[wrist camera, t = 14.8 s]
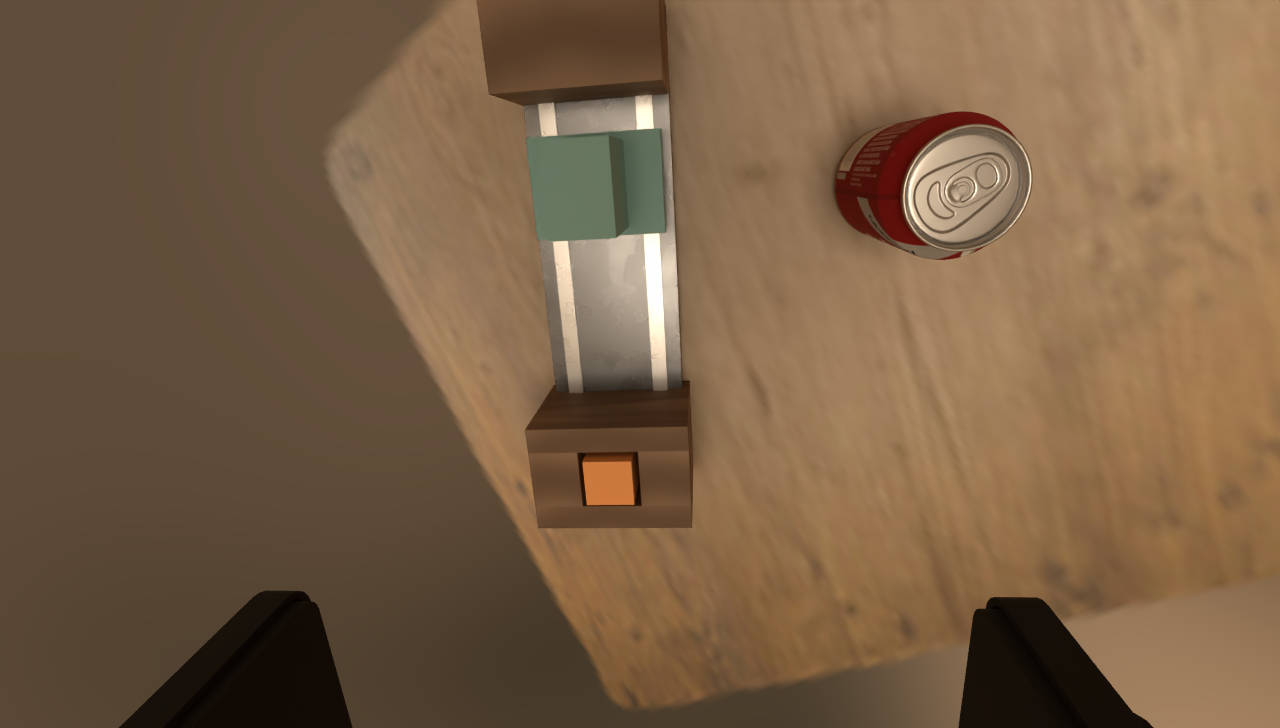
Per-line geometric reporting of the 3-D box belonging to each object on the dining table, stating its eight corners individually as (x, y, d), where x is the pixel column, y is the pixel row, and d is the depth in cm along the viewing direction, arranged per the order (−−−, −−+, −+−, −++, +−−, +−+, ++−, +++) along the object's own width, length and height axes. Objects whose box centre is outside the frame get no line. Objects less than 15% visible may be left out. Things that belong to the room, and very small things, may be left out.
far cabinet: (554, 385, 45) (524, 430, 37) (689, 381, 43) (687, 426, 36) (564, 469, 47) (538, 528, 39) (693, 467, 46) (691, 527, 38)
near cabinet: (520, 20, 37) (474, -17, 30) (665, 6, 36) (656, -36, 29) (529, 107, 39) (488, 94, 31) (669, 96, 38) (662, 79, 30)
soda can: (813, 164, 38) (861, 165, 27) (914, 102, 36) (1011, 74, 25) (861, 256, 40) (926, 292, 28) (960, 199, 38) (1072, 214, 27)
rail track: (526, 73, 38) (518, 69, 36) (668, 61, 37) (666, 56, 35) (561, 384, 44) (555, 393, 43) (682, 381, 44) (682, 390, 42)
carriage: (532, 138, 37) (493, 133, 30) (661, 129, 36) (652, 120, 29) (543, 237, 39) (508, 253, 32) (666, 230, 38) (659, 245, 31)
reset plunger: (602, 411, 44) (582, 462, 37) (642, 410, 44) (630, 461, 36) (605, 448, 45) (586, 505, 38) (645, 447, 45) (634, 504, 37)
